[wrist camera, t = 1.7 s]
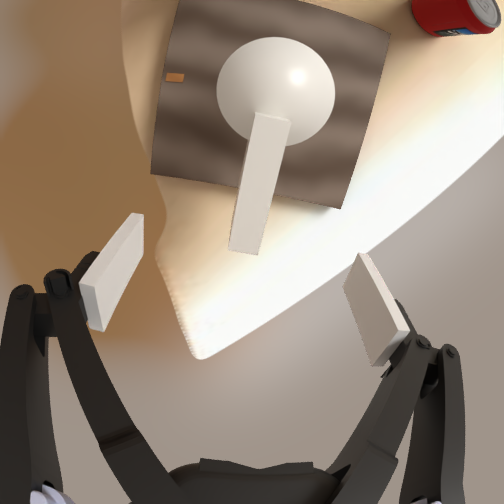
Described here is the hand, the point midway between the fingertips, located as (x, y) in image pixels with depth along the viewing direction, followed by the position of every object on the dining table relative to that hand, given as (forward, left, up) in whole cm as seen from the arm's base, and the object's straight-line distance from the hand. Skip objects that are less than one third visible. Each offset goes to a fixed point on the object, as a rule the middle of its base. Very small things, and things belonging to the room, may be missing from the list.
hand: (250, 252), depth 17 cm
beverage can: (-28, +18, -20) cm, 39 cm away
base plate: (-9, 0, -20) cm, 22 cm away
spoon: (-5, 0, -12) cm, 13 cm away
